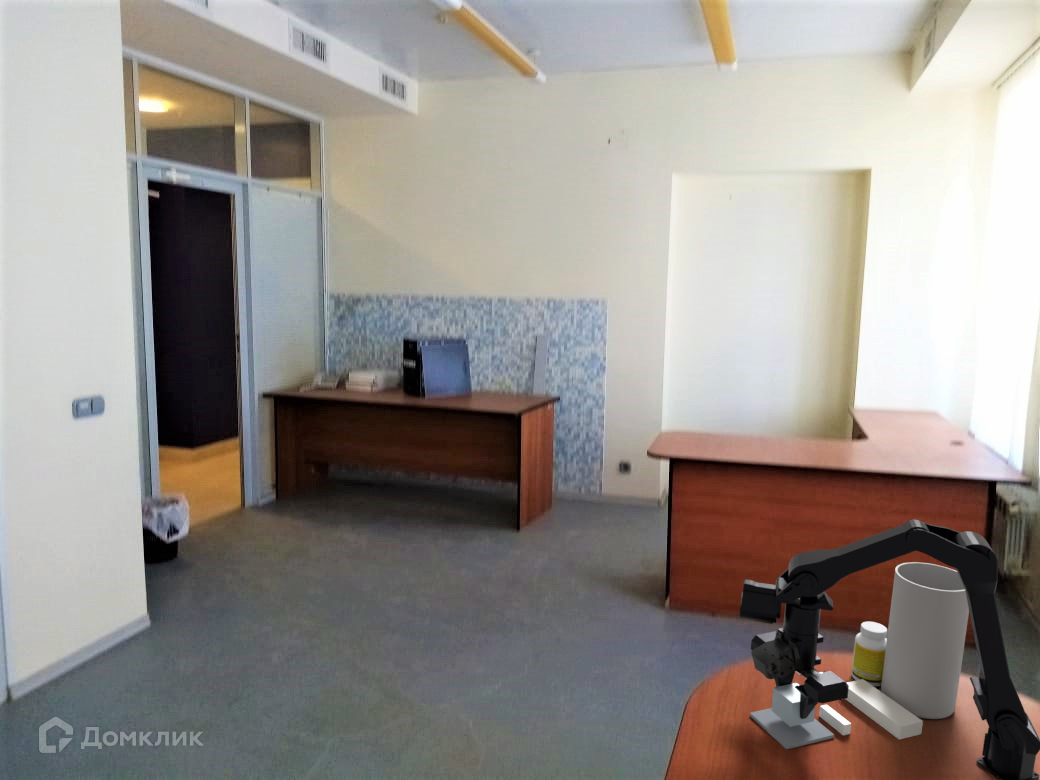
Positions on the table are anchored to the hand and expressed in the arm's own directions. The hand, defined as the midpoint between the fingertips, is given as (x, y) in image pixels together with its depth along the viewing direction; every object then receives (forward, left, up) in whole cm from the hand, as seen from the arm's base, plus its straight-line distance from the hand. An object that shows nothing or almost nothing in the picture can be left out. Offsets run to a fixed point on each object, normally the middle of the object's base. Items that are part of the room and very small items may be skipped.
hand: (792, 709), depth 138 cm
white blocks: (-2, -14, -3) cm, 14 cm away
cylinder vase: (-1, -28, -4) cm, 28 cm away
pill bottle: (+8, -25, -4) cm, 26 cm away
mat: (0, 0, -3) cm, 3 cm away
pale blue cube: (0, 0, -1) cm, 1 cm away
